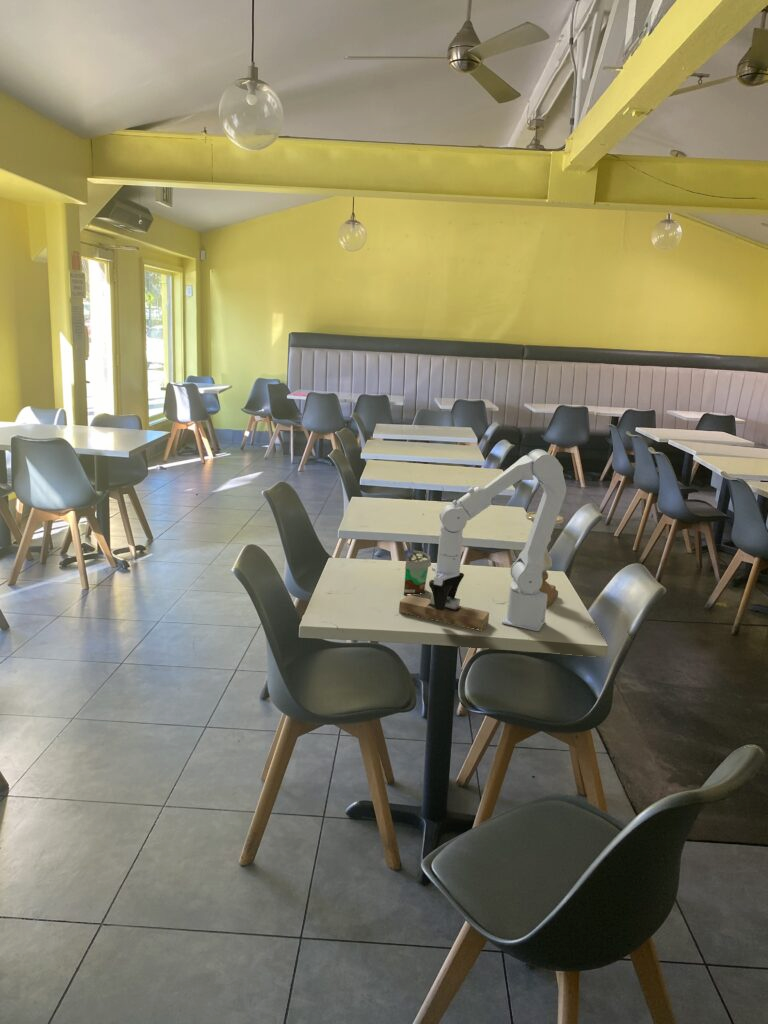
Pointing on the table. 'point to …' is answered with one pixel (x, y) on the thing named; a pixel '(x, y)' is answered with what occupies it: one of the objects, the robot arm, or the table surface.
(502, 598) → the table surface
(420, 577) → the food container
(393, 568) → the table surface
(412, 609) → the brown slotted holder
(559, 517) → the candle holder
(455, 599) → the grey block
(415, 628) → the table surface
